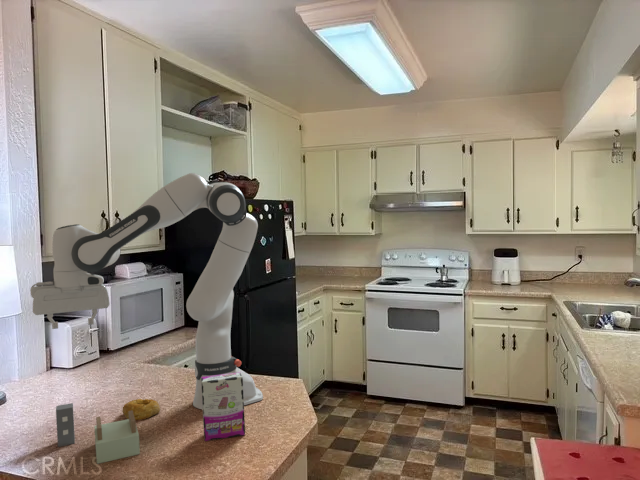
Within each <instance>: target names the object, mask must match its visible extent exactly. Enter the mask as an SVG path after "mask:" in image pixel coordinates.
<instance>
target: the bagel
mask: <svg viewBox="0 0 640 480" xmlns="http://www.w3.org/2000/svg"><path fill="white" fill-rule="evenodd" d="M131 410H132V411H133V414H134V417H135V421H142V420H146V418H147V419H149V418H151V417H152V416H155V415H158V414H159V413H160V411H161V406H160V405H159V402H157V400H154V399H151V398H150V399H149V398H144V399H142V398H137V399H133V400H130V401H129V402H126V403H124V405H123V406H122V415H124V417H125V418H126V420H127V419H129V411H131Z"/></svg>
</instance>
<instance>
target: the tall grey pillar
mask: <svg viewBox="0 0 640 480" xmlns="http://www.w3.org/2000/svg"><path fill="white" fill-rule="evenodd" d="M55 415H56V416H55V417H56V420H55V421H56V437H57V447H58V448H61V447H65V446H69V445H75V440H76V436H75V422H74V421H75V419H74V403H73V402H71V403H66V404H60V405H56V406H55Z"/></svg>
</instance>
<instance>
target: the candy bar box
mask: <svg viewBox="0 0 640 480" xmlns="http://www.w3.org/2000/svg"><path fill="white" fill-rule="evenodd" d="M201 388H202V407H203V409H202V422H203V423H202V424H203V437H204V442H209V441H216V440H222V439H228V438H234V437H240V436H245V435H246V424H245V423H246V422H245V421H246V419H245V418H246V417H245V405H244V397H243V378H242V375H241V372H238V373H229V374H221V375H214V376H206V377H201Z"/></svg>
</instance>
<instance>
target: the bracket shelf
mask: <svg viewBox="0 0 640 480" xmlns="http://www.w3.org/2000/svg"><path fill="white" fill-rule="evenodd" d="M95 420H96V422H95V423H96V425H94V440H95V441H94V443H95V458H96V464H97V465H99V464H103V463H106V462H111V461H116V460H120V459H125V458H128V457H129V458H130V457H132V456H137V455H141V453H140V451H141V450H140V448H141V447H140V435H139V434H140V433H139V431H138V427H137V422H136V421H137V420H135V417H134V414H133V411H132V410H131V411H129V419H127V418H126V419H122V420H118V421H112V422H108V423H102V419H101V416H96V419H95Z"/></svg>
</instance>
